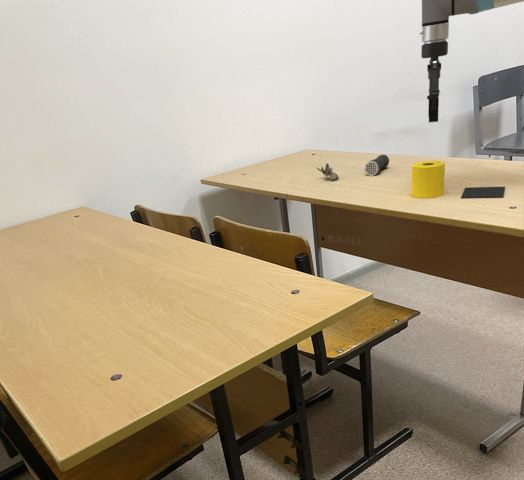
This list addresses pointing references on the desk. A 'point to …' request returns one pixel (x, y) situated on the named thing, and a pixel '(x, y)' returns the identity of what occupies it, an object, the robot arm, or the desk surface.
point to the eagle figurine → (329, 172)
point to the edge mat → (483, 192)
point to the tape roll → (428, 179)
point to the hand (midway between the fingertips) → (433, 119)
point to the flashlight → (376, 165)
